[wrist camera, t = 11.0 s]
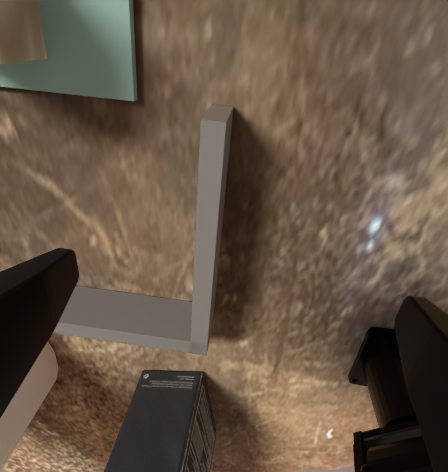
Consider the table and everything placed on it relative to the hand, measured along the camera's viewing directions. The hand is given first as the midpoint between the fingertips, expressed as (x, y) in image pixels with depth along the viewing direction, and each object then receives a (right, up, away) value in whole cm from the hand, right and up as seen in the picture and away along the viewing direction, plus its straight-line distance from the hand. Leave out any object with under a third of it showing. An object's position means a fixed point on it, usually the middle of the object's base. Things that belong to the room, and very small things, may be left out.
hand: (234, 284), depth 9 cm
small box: (-5, -16, +26) cm, 30 cm away
